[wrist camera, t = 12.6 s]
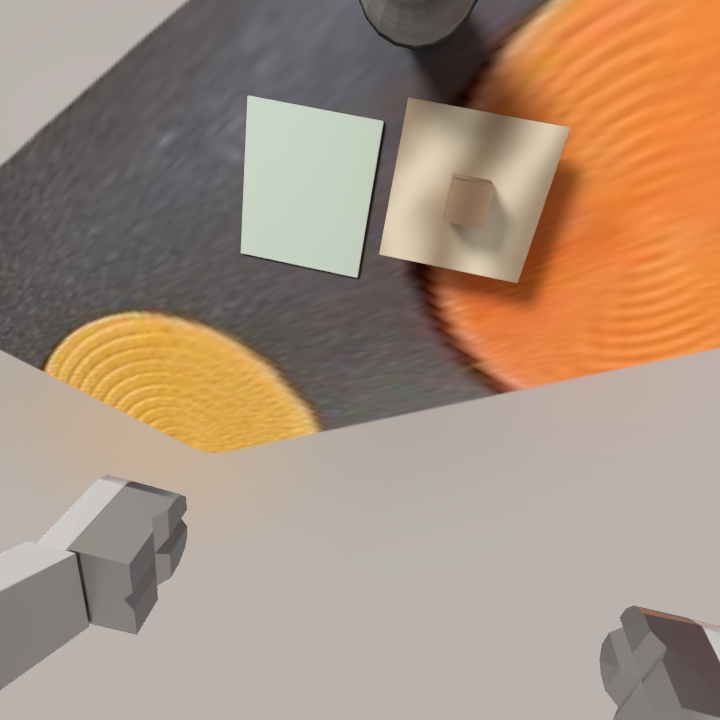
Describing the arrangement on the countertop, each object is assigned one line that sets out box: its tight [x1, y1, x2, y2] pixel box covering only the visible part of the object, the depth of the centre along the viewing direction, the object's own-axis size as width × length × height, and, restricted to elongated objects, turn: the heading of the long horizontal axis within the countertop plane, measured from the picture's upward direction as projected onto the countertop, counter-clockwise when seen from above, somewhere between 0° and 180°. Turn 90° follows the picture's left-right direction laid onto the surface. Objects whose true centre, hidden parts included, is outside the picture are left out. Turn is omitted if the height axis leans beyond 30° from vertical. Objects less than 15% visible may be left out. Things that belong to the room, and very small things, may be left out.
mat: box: [241, 96, 384, 278], centre depth 44 cm, size 12×14×1 cm
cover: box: [379, 98, 570, 283], centre depth 36 cm, size 12×12×5 cm
